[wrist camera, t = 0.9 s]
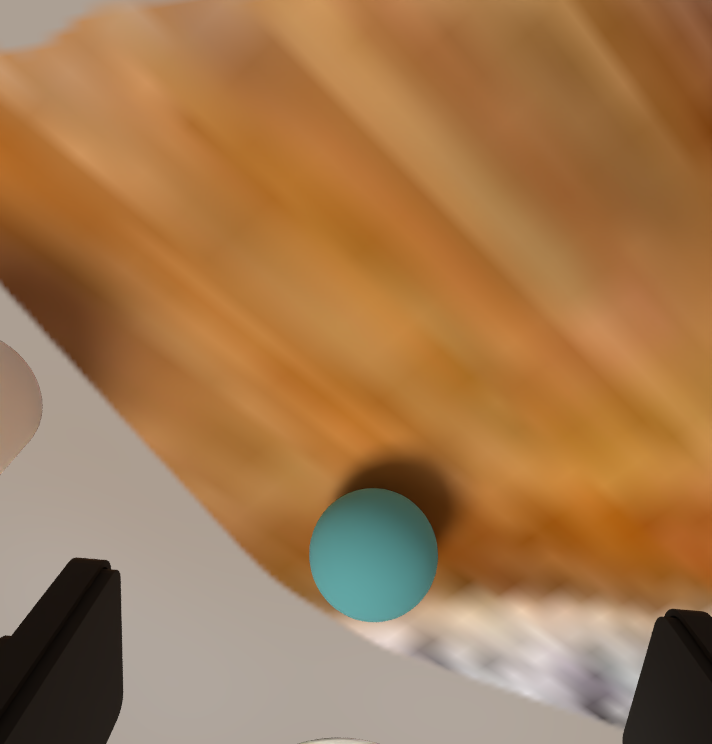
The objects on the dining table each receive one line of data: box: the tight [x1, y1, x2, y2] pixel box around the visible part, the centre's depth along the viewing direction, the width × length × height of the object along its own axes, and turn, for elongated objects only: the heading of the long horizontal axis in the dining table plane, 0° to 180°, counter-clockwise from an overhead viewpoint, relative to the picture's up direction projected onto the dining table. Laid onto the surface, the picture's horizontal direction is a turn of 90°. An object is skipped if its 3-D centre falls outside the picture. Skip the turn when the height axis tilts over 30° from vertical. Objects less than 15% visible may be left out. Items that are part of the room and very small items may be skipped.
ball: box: [310, 488, 438, 622], centre depth 28 cm, size 6×6×6 cm
